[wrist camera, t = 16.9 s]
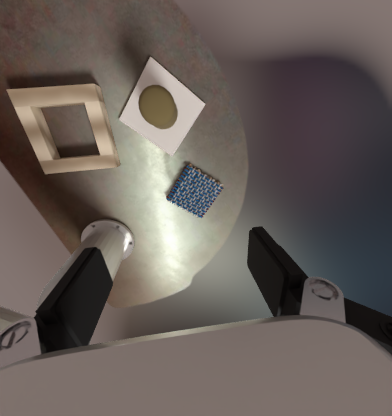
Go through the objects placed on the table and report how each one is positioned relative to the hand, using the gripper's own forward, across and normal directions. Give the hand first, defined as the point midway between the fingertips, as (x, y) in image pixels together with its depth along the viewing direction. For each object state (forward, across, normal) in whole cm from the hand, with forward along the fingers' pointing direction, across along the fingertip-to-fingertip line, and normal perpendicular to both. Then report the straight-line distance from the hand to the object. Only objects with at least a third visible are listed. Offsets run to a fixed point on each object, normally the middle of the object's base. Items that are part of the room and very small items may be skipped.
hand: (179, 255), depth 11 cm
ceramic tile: (+30, +2, -10) cm, 32 cm away
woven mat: (+31, -3, +7) cm, 32 cm away
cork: (+30, +2, -10) cm, 32 cm away
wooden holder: (+30, +19, -8) cm, 37 cm away
